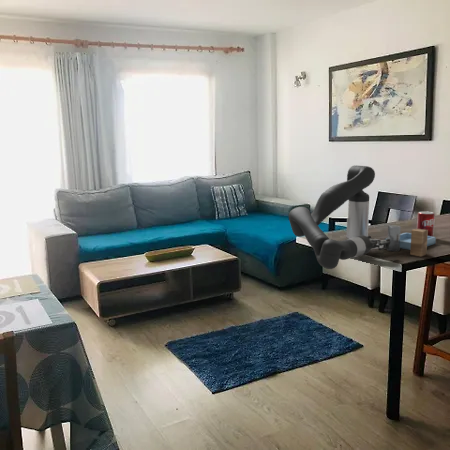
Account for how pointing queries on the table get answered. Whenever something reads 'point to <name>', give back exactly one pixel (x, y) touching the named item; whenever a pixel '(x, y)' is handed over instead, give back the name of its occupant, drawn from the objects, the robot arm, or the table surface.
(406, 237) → the tote
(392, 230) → the metal cylinder
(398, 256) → the table surface
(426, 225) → the soda can
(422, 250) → the brown rectangular block
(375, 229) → the table surface
